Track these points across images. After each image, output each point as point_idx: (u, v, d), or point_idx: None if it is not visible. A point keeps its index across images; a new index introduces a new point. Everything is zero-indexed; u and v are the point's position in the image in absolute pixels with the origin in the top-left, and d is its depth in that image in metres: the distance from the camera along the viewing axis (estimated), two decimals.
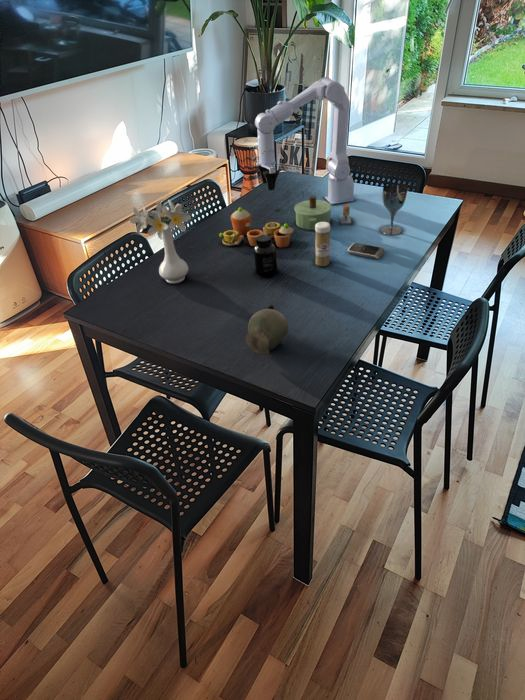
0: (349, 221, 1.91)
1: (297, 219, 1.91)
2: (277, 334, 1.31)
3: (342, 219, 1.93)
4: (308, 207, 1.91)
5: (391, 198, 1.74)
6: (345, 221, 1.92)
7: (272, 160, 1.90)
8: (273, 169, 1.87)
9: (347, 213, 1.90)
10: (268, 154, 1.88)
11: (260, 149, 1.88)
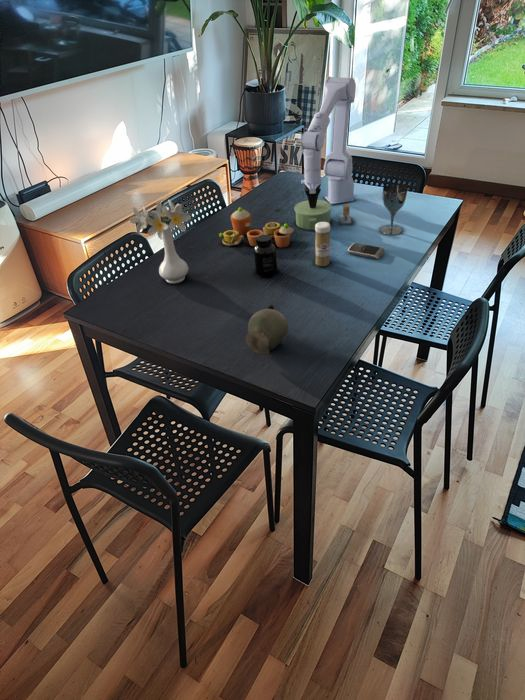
0: (349, 221, 1.91)
1: (297, 219, 1.91)
2: (277, 334, 1.31)
3: (342, 219, 1.93)
4: (308, 207, 1.90)
5: (391, 198, 1.74)
6: (345, 221, 1.92)
7: (316, 180, 1.82)
8: (313, 189, 1.79)
9: (347, 213, 1.90)
10: (312, 173, 1.80)
11: (312, 168, 1.79)
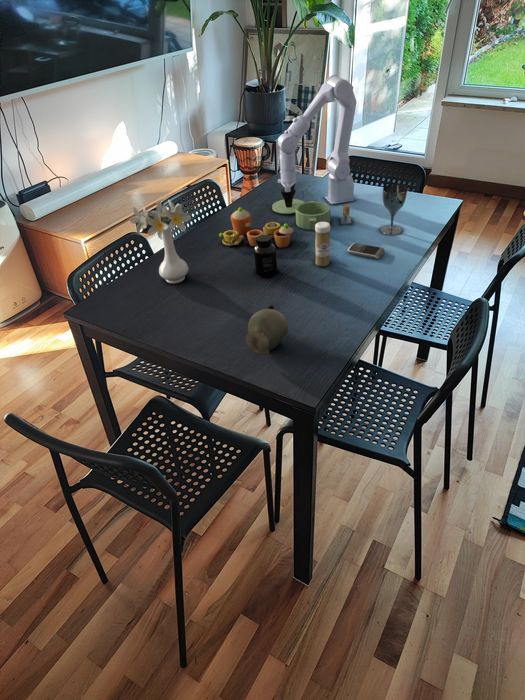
0: (349, 221, 1.91)
1: (297, 219, 1.91)
2: (277, 334, 1.31)
3: (342, 219, 1.93)
4: (285, 205, 2.05)
5: (391, 198, 1.74)
6: (345, 221, 1.92)
7: (291, 179, 1.96)
8: (288, 188, 1.94)
9: (347, 213, 1.90)
10: (287, 173, 1.95)
11: (282, 168, 1.94)
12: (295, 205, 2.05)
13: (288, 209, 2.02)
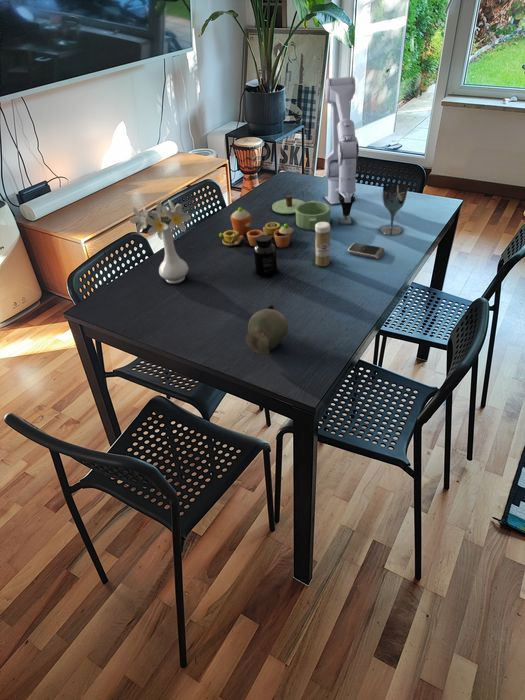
0: (349, 221, 1.91)
1: (297, 219, 1.91)
2: (277, 334, 1.31)
3: (342, 219, 1.93)
4: (285, 205, 2.05)
5: (391, 198, 1.74)
6: (345, 221, 1.92)
7: (351, 188, 1.83)
8: (348, 198, 1.80)
9: None
10: (347, 182, 1.81)
11: (352, 176, 1.80)
12: (295, 205, 2.05)
13: (288, 209, 2.02)
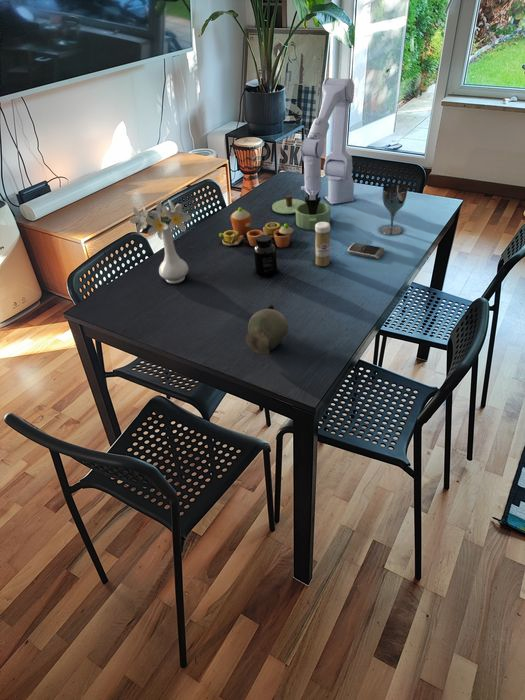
0: None
1: (297, 219, 1.91)
2: (277, 334, 1.31)
3: None
4: (285, 205, 2.05)
5: (391, 198, 1.74)
6: None
7: (316, 186, 1.83)
8: (313, 196, 1.81)
9: None
10: (312, 180, 1.82)
11: (312, 175, 1.81)
12: (295, 205, 2.05)
13: (288, 209, 2.02)
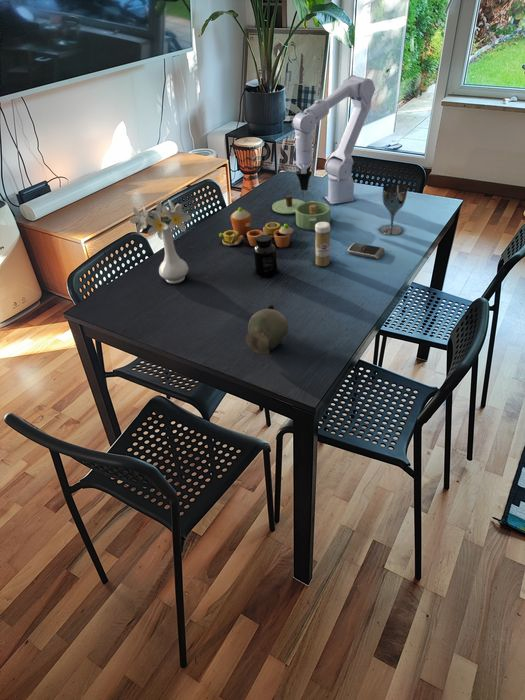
0: None
1: (297, 219, 1.91)
2: (277, 334, 1.31)
3: None
4: (285, 205, 2.05)
5: (391, 198, 1.74)
6: None
7: (307, 160, 1.90)
8: (304, 170, 1.87)
9: (314, 213, 1.91)
10: (303, 154, 1.88)
11: (299, 149, 1.87)
12: (295, 205, 2.05)
13: (288, 209, 2.02)
